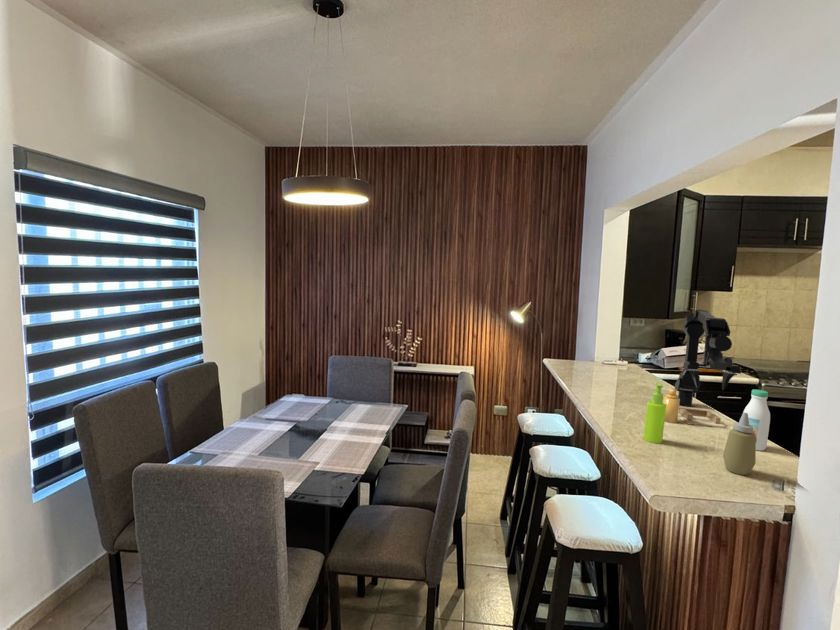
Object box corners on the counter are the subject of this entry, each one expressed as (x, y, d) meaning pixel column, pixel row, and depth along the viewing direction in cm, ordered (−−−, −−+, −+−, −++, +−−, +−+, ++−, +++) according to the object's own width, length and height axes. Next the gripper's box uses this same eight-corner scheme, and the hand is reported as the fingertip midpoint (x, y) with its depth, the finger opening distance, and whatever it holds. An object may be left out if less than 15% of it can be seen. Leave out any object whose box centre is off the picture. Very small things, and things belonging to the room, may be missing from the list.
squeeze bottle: (714, 465, 142) (722, 408, 140) (739, 465, 142) (747, 409, 140) (734, 477, 134) (743, 417, 132) (760, 477, 134) (769, 418, 132)
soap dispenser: (659, 437, 163) (666, 382, 161) (663, 444, 156) (670, 387, 154) (641, 434, 165) (648, 380, 163) (644, 441, 158) (651, 384, 156)
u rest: (674, 413, 194) (675, 406, 194) (710, 417, 192) (711, 410, 192) (687, 424, 181) (688, 416, 180) (726, 428, 178) (727, 420, 178)
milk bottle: (756, 443, 163) (764, 388, 161) (771, 452, 156) (779, 394, 153) (733, 441, 164) (741, 387, 162) (747, 450, 156) (755, 392, 154)
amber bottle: (659, 417, 187) (663, 386, 186) (674, 419, 186) (678, 388, 185) (663, 422, 181) (667, 390, 180) (679, 423, 180) (683, 391, 179)
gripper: (693, 348, 176) (690, 389, 176) (749, 353, 171) (746, 394, 171) (684, 347, 186) (681, 385, 186) (736, 351, 182) (733, 390, 182)
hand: (710, 388), depth 181 cm, fingers open, 9 cm apart
